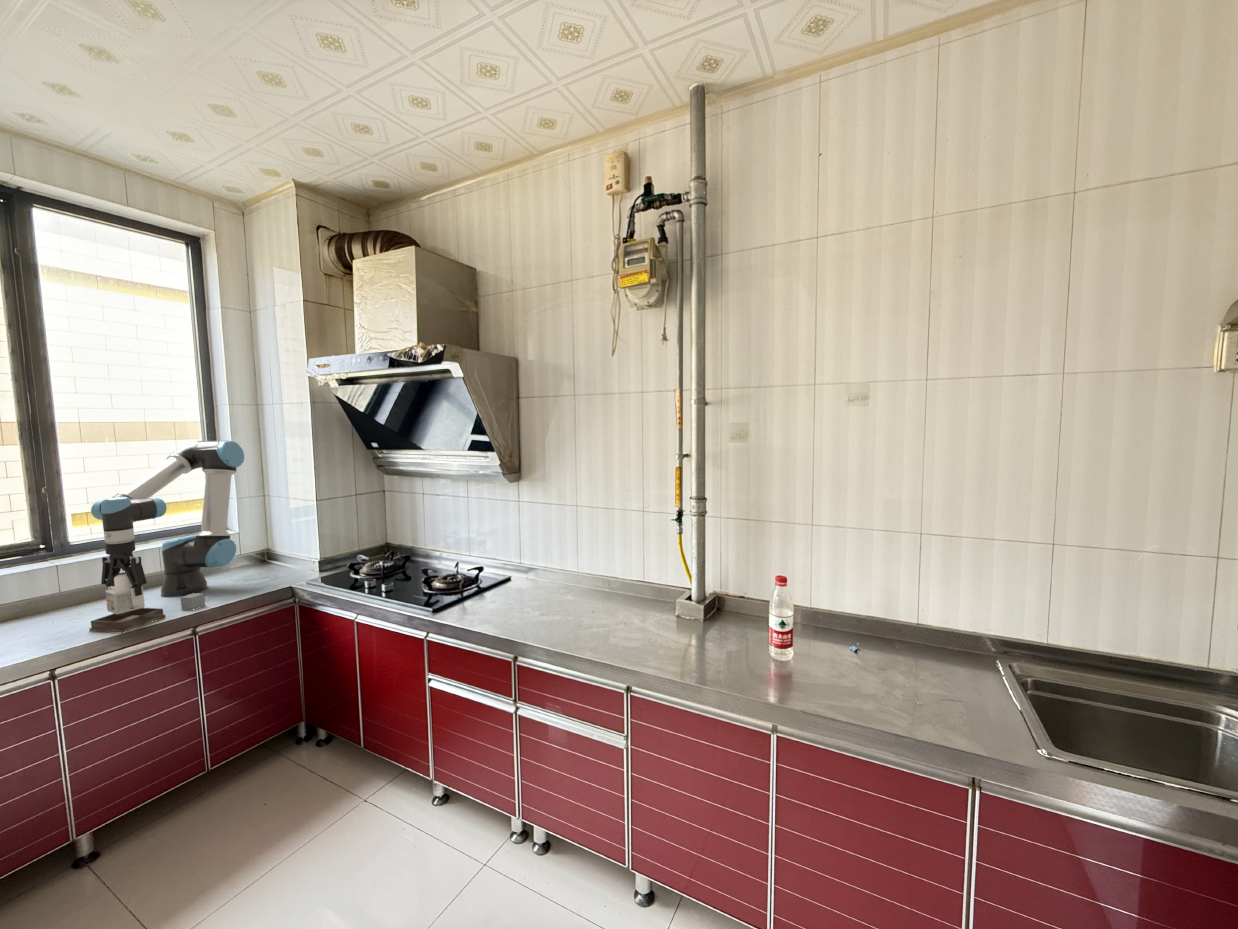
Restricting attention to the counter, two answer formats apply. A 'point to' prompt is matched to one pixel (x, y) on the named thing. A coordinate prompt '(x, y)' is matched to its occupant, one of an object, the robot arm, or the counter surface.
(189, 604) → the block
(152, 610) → the tray
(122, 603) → the container
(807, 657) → the counter surface
